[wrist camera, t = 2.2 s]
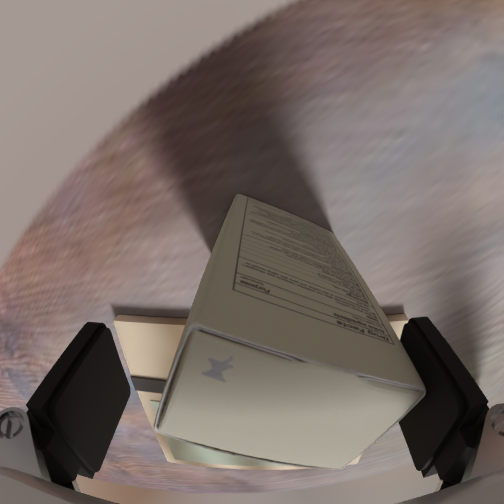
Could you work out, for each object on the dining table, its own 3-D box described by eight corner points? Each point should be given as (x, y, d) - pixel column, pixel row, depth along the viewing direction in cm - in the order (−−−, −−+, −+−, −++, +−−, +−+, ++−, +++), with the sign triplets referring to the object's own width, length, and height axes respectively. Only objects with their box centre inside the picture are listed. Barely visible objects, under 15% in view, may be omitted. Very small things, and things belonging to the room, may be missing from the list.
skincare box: (209, 257, 18) (137, 430, 7) (237, 189, 17) (172, 314, 5) (308, 295, 19) (341, 478, 8) (341, 234, 17) (434, 394, 6)
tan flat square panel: (404, 313, 19) (410, 321, 18) (355, 457, 26) (357, 465, 25) (118, 314, 20) (112, 322, 19) (169, 456, 27) (167, 463, 26)
